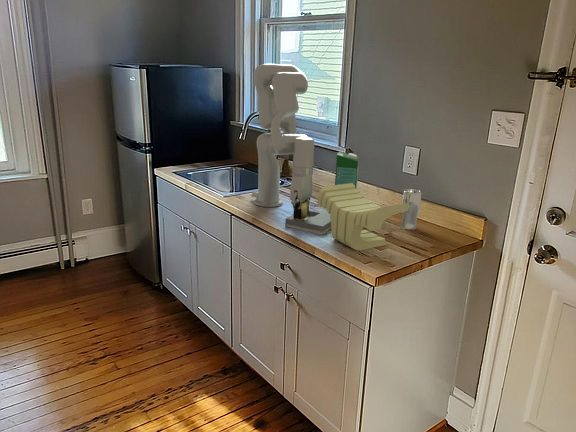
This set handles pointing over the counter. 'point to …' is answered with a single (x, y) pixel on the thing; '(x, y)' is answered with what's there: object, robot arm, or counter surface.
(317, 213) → the board
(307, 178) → the robot arm
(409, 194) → the beer glass
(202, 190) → the counter surface
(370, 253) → the counter surface
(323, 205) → the slatted curved stool
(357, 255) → the counter surface
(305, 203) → the peg
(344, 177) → the milk carton
